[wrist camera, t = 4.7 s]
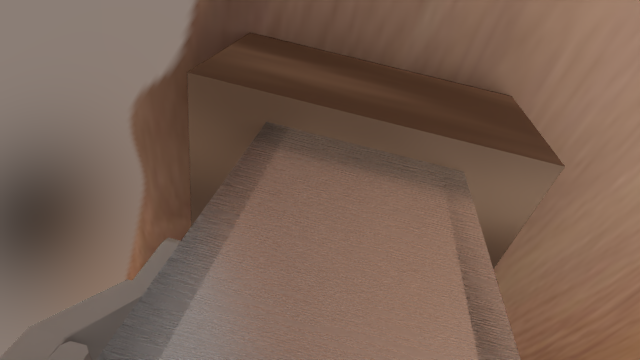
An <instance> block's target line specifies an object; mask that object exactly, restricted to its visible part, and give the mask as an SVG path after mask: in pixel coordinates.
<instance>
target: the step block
mask: <svg viewBox="0 0 640 360" xmlns="http://www.w3.org/2000/svg"><path fill="white" fill-rule="evenodd" d="M187 86H188V122H189V158H190V194H191V226H192V225H193V224H194V222H195V221H196V219H197V218H198V217H199V215H200V214H201V212H202V211H203V210H204V208H205V207H206V205H207V204H208V203H209V201H210V200H211V198H212V197H213V196H214V194H215V193H216V191H217V190H218V189H219V187H220V186H221V184H222V183H223V182H224V180H225V179H226V177H227V176H228V175H229V173H230V172H231V170H232V169H233V168H234V166H235V165H236V163H237V162H238V161H239V159H240V158H241V156H242V155H243V154H244V152H245V151H246V149H247V148H248V147H249V145H250V144H251V142H252V141H253V140H254V138H255V137H256V135H257V134H258V133H259V131H260V130H261V128H262V127H263V126H264V124H265V123H266V122H270V123H274V124H278V125H282V126H286V127H290V128H294V129H298V130H302V131H306V132H310V133H314V134H318V135H322V136H326V137H330V138H334V139H338V140H342V141H346V142H350V143H353V144H357V145H361V146H365V147H369V148H373V149H377V150H381V151H385V152H389V153H393V154H397V155H401V156H405V157H409V158H413V159H417V160H421V161H425V162H429V163H433V164H437V165H441V166H445V167H448V168H452V169H456V170H460V171H464V174H465V177H466V180H467V184H468V187H469V190H470V193H471V197H472V200H473V203H474V207H475V210H476V213H477V217H478V220H479V223H480V227H481V230H482V233H483V237H484V240H485V243H486V246H487V250H488V253H489V256H490V260H491V263H492V266H493V269H494V267H495V266H496V264H497V263H498V262H499V260H500V259H501V257H502V256H503V254H504V253H505V252H506V250H507V249H508V247H509V246H510V244H511V243H512V242H513V240H514V239H515V237H516V236H517V234H518V233H519V232H520V230H521V229H522V227H523V226H524V224H525V223H526V222H527V220H528V219H529V217H530V216H531V214H532V213H533V212H534V210H535V209H536V207H537V206H538V204H539V203H540V202H541V200H542V199H543V197H544V196H545V194H546V193H547V192H548V190H549V189H550V187H551V186H552V184H553V183H554V182H555V180H556V179H557V177H558V176H559V174H560V173H561V172H562V170H563V169H564V167H565V166H564V165H563V163H562V162H561V161H560V159H559V158H558V157H557V155H556V154H555V153H554V152H553V150H552V149H551V148H550V146H549V145H548V144H547V142H546V141H545V140H544V138H543V137H542V136H541V134H540V133H539V132H538V130H537V129H536V128H535V126H534V125H533V124H532V123H531V121H530V120H529V119H528V117H527V116H526V115H525V113H524V112H523V111H522V109H521V108H520V107H519V105H518V104H517V103H516V101H515V100H514V99H513V97H512V96H508V95H503V94H499V93H495V92H491V91H487V90H483V89H479V88H475V87H471V86H467V85H462V84H458V83H454V82H450V81H446V80H442V79H438V78H434V77H430V76H426V75H421V74H417V73H413V72H409V71H405V70H401V69H397V68H393V67H389V66H384V65H380V64H376V63H372V62H368V61H364V60H360V59H356V58H352V57H348V56H343V55H339V54H335V53H331V52H327V51H323V50H319V49H315V48H311V47H307V46H302V45H298V44H294V43H290V42H286V41H282V40H278V39H274V38H270V37H266V36H261V35H257V34H253V33H249V34H247V35H246V36H244V37H243V38H241V39H239V40H238V41H236V42H235V43H233V44H231V45H230V46H228V47H227V48H225V49H223V50H222V51H220V52H219V53H217V54H216V55H214V56H212V57H211V58H209V59H208V60H206V61H204V62H203V63H201V64H200V65H198V66H196V67H195V68H193V69H192V70H190V71H188V72H187Z"/></svg>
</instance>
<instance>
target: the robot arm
mask: <svg viewBox="0 0 640 360" xmlns="http://www.w3.org/2000/svg"><path fill="white" fill-rule="evenodd" d="M180 242H181V241H179V240H176V239H172V238H167V239H166V240H164V241H163V242H162V243H161V245H160V246H159V247H158V248H157V250H156V251H155V252H154V254H153V255H152V256H151V257H150V259H149V260H148V261H147V263H146V264H145V265H144V266H143V268H142V269H141V270H140V271H139V273H138V274H137V275H136V277H135V278H134V279H133V280H132V281H131V280H125V281H123V282H121V283H119V284H117V285H115V286H113V287H111V288H109V289H107V290H105V291H103V292H100V293H98V294H96V295H94V296H92V297H90V298H88V299H86V300H84V301H82V302H80V303H78V304H76V305H73V306H71V307H69V308H67V309H65V310H63V311H61V312H59V313H57V314H55V315H53V316H51V317H49V318H47V319H45V320H42V321H40V322H38V323H36V324H34V325H32V326H30V327H28V328H27V329H26V331H25V332H24V333H23V334H22V335H21V336H20V337H19V338H18V339H17V340H16V341H15V342H14V343H13V344H12V345H11V346H10V347H9V348H8V349H7V351H5V352H4V354H3V355H2V356H1V357H0V360H97V358H98V357H99V355H100V354H101V353H102V351H103V350H104V348H105V347H106V346H107V344H108V343H109V341H110V340H111V339H112V337H113V336H114V334H115V333H116V332H117V330H118V329H119V327H120V326H121V325H122V323H123V322H124V320H125V319H126V318H127V316H128V315H129V313H130V312H131V311H132V309H133V308H134V306H135V305H136V304H137V302H138V301H139V299H140V298H141V297H142V295H143V294H144V292H145V291H146V290H147V288H148V287H149V285H150V284H151V282H152V281H153V280H154V278H155V277H156V275H157V274H158V273H159V271H160V270H161V268H162V267H163V266H164V264H165V263H166V261H167V260H168V259H169V257H170V256H171V254H172V253H173V252H174V250H175V249H176V247H177V246H178V245H179V243H180Z"/></svg>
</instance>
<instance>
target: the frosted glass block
mask: <svg viewBox="0 0 640 360" xmlns="http://www.w3.org/2000/svg"><path fill="white" fill-rule="evenodd" d="M97 360H521V359H520V356H519V353H518V349H517V346H516V343H515V339H514V336H513V333H512V329H511V326H510V323H509V319H508V316H507V313H506V309H505V306H504V303H503V300H502V296H501V293H500V290H499V286H498V283H497V280H496V276H495V273H494V270H493V266H492V263H491V260H490V256H489V253H488V250H487V246H486V243H485V240H484V237H483V233H482V230H481V227H480V223H479V220H478V217H477V213H476V210H475V207H474V203H473V200H472V197H471V193H470V190H469V187H468V184H467V180H466V177H465V174H464V171H460V170H456V169H452V168H448V167H445V166H441V165H437V164H433V163H429V162H425V161H421V160H417V159H413V158H409V157H405V156H401V155H397V154H393V153H389V152H385V151H381V150H377V149H373V148H369V147H365V146H361V145H357V144H353V143H350V142H346V141H342V140H338V139H334V138H330V137H326V136H322V135H318V134H314V133H310V132H306V131H302V130H298V129H294V128H290V127H286V126H282V125H278V124H274V123H270V122H266V123H265V124H264V126H263V127H262V128H261V130H260V131H259V133H258V134H257V135H256V137H255V138H254V140H253V141H252V142H251V144H250V145H249V147H248V148H247V149H246V151H245V152H244V154H243V155H242V156H241V158H240V159H239V161H238V162H237V163H236V165H235V166H234V168H233V169H232V170H231V172H230V173H229V175H228V176H227V177H226V179H225V180H224V182H223V183H222V184H221V186H220V187H219V189H218V190H217V191H216V193H215V194H214V196H213V197H212V198H211V200H210V201H209V203H208V204H207V205H206V207H205V208H204V210H203V211H202V212H201V214H200V215H199V217H198V218H197V219H196V221H195V222H194V224H193V225H192V226H191V228H190V229H189V231H188V232H187V233H186V235H185V236H184V238H183V239H182V240H181V242H180V243H179V245H178V246H177V247H176V249H175V250H174V252H173V253H172V254H171V256H170V257H169V259H168V260H167V261H166V263H165V264H164V266H163V267H162V268H161V270H160V271H159V273H158V274H157V275H156V277H155V278H154V280H153V281H152V282H151V284H150V285H149V287H148V288H147V290H146V291H145V292H144V294H143V295H142V297H141V298H140V299H139V301H138V302H137V304H136V305H135V306H134V308H133V309H132V311H131V312H130V313H129V315H128V316H127V318H126V319H125V320H124V322H123V323H122V325H121V326H120V327H119V329H118V330H117V332H116V333H115V334H114V336H113V337H112V339H111V340H110V341H109V343H108V344H107V346H106V347H105V348H104V350H103V351H102V353H101V354H100V355H99V357H98V358H97Z"/></svg>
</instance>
